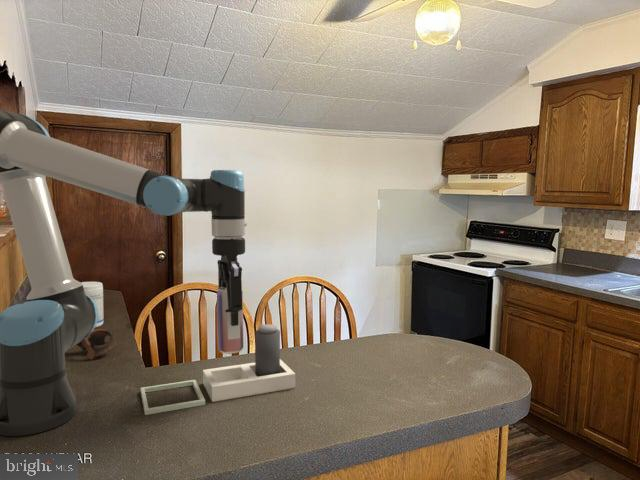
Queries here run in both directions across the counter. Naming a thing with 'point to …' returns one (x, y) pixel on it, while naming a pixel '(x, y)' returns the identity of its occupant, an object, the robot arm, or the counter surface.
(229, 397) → the white divided tray
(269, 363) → the single round plug
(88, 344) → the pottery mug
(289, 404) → the counter surface
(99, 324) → the supplement tub
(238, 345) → the beverage can
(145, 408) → the rectangular frame
